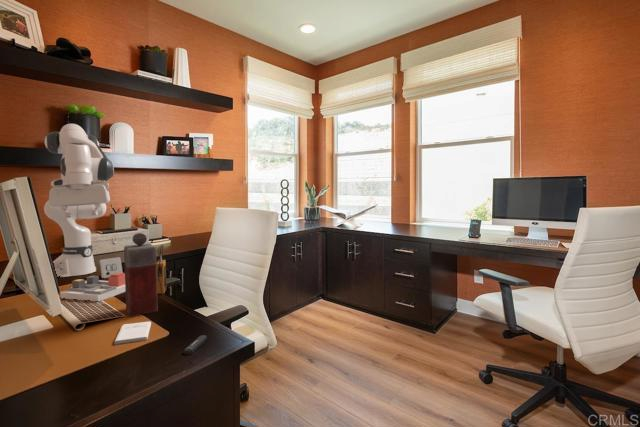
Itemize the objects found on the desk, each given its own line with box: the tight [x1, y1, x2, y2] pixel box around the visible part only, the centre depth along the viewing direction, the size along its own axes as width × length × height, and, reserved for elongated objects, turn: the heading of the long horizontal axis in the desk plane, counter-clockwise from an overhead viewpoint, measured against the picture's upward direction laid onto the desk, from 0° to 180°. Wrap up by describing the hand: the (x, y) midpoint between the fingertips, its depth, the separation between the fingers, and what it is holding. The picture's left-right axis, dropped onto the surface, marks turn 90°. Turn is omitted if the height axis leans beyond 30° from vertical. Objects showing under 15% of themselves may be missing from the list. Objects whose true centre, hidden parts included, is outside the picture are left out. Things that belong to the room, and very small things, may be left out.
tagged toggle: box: [71, 278, 86, 289], centre depth 136 cm, size 3×3×4 cm
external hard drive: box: [114, 321, 152, 345], centre depth 100 cm, size 2×8×12 cm
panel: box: [59, 279, 126, 302], centre depth 139 cm, size 18×18×4 cm
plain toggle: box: [85, 275, 100, 284], centre depth 143 cm, size 3×3×4 cm
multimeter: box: [156, 245, 167, 298], centre depth 140 cm, size 15×10×20 cm
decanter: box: [123, 232, 159, 317], centre depth 120 cm, size 9×11×28 cm
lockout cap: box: [107, 272, 125, 287], centre depth 143 cm, size 5×5×5 cm
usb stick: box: [183, 334, 208, 355], centre depth 93 cm, size 10×3×2 cm, turn 172°
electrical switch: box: [98, 256, 124, 279], centre depth 167 cm, size 9×5×9 cm, turn 141°
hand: (81, 216), depth 131 cm, fingers open, 8 cm apart
